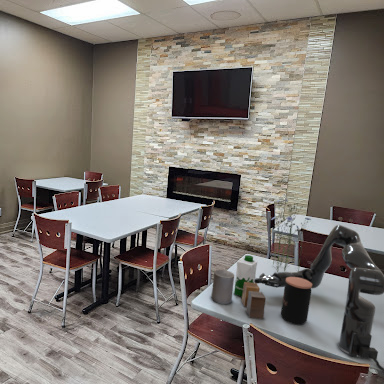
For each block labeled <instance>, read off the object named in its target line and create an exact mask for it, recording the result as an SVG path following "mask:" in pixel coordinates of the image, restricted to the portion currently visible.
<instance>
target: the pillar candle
mask: <svg viewBox="0 0 384 384" xmlns="http://www.w3.org/2000/svg"><path fill="white" fill-rule="evenodd" d="M234 283H235V273H234V272H232V271H229V270H226V269H216V270H214V272H213V281H212V289H211V300H212V301H213V302H215V303H217V304H221V305H229V304H231V303H232V298H233V291H234Z"/></svg>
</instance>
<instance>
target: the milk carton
mask: <svg viewBox="0 0 384 384" xmlns="http://www.w3.org/2000/svg"><path fill="white" fill-rule="evenodd" d="M257 265H258V261H256V260H254V256H252V255H250V254H249V255H248V254H247V255H244V257H242V258H240V259H239V260H237V261H236V273H235V274H236V275H235V280H234V290H233V291H234V292H233V295H235V296H238V297H240V298H242V295H243V286H244V282H249V283H255V278H256V275H257V274H256V273H257Z"/></svg>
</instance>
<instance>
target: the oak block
mask: <svg viewBox="0 0 384 384" xmlns="http://www.w3.org/2000/svg"><path fill="white" fill-rule="evenodd" d="M260 290H261V288H260V286H259V285H258V283H255V282H254V283H249V282H244V286H243V295H242V297H241V302H242V305H243V307H245V308H247V301H248V293H249V291H255V292H261V291H260Z"/></svg>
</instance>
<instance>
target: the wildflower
mask: <svg viewBox="0 0 384 384" xmlns="http://www.w3.org/2000/svg"><path fill="white" fill-rule="evenodd" d="M280 201H281V199H279V200H277V201H276V204H278V209H279V212H280V213H278V217H279V219H280V220H276V216H274V217H272V218H271V219H270V220H271V221H273V220H275V225H276V226H277V231H276V235H277V236H276V238H275V239H276V242H278V244H275V248H277V246H278V250H280V249H281V248H282V251H277V250H274V251H275V252H274V254H273V260H272V261H273V263H272V266H274V264H275V263H276V265H275V270H276V273H277V272H279V268H280V267H282V264H284V266H283V272H286V269H287V266H289V261H290V259H289V258H290V257H289V255H290V250H291V249H290V248H291V245H292V240H291V239H292V238H293V237H294V234H296V233H297V232H299V230H300V229H299V225H297V224H296V223H293V222H294V221H295V220H296V216H297V215H298V214H299V213H300V211H301V210H302V209H303V207H304V206H303V205H301V206H299V208H300V209H297V210H296V206H298V205H299V202H297V203H293V205H292V203H289V204H287V203H288V202H289V200H288V199H287V198H285V200H284V199H283V200H282V202H281V203H280ZM284 201H285V202H284ZM283 202H284V205H283ZM286 204H287V205H286ZM285 206H287V207H288V208H289V209H288V212H289V216H287V217H286V219H285V216H283V220H282V216H281V215H282V214H283V210H284V209H285ZM281 207H282V208H281ZM280 208H281V209H280ZM292 215H293V216H292ZM304 219H305V220H304V221H303V222H300V225H301V227H302V230H301V233H302V235H301V241H300V242H301V243H300V252H299V253H300V254H299V255H302V250H303V246H302V245H303V236H304V233H305V232H304V231H305V230H306V228H307V226H306V225H304V224H308V223H309V221H312V219H311V218H310V217H305V218H304ZM306 220H307V221H306ZM282 223H283V224H282ZM280 224H281V227H280ZM295 225H296V226H295ZM293 226H295V227H296V228H295V229H294V233H292V232H293V231H292V230H293ZM280 228H281V229H280ZM286 228H287V230H286ZM280 230H281V231H280ZM283 231H284V233H286V232H287V233H286V238H285V235H281V234H282V233H283ZM280 235H281V236H280ZM282 237H283V239H284V241H282V243H284V244H281V240H280V239H281V238H282ZM287 244H288V246H287V247H286V245H287ZM285 249H286V250H287V253H286V252H285ZM280 254H281V256H280ZM285 255H286V256H285ZM276 256H277V259H276ZM284 258H285V261H284ZM283 261H284V262H283ZM300 264H301V259H299V261H298V265H297V270H296V272H298V271H300V270H299V269H300Z"/></svg>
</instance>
